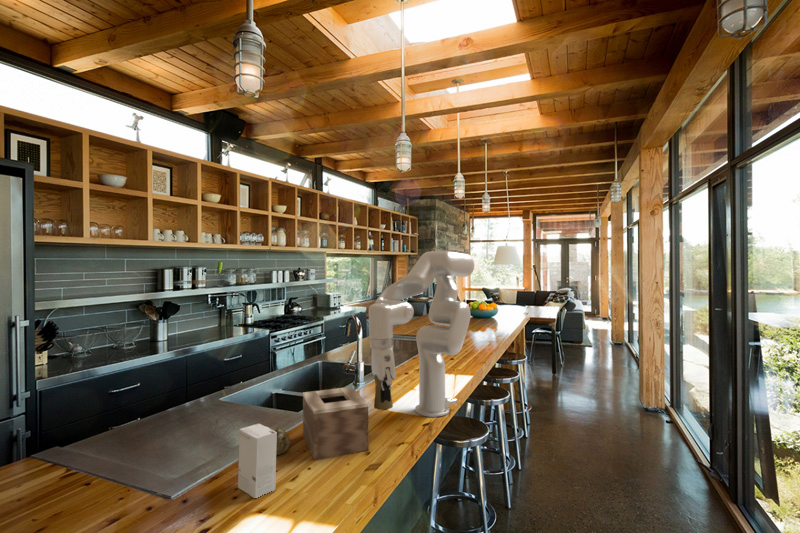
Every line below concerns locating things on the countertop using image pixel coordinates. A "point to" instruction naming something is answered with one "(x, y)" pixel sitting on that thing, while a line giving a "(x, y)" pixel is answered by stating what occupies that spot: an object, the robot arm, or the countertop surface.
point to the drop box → (335, 422)
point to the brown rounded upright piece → (377, 402)
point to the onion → (281, 441)
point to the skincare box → (257, 460)
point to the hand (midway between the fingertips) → (383, 398)
